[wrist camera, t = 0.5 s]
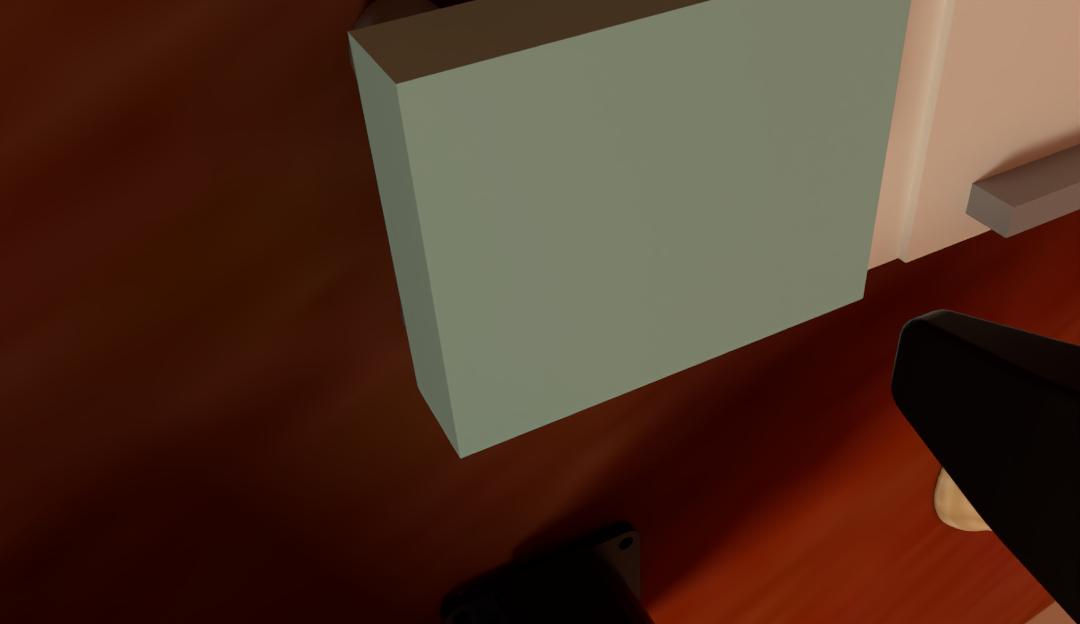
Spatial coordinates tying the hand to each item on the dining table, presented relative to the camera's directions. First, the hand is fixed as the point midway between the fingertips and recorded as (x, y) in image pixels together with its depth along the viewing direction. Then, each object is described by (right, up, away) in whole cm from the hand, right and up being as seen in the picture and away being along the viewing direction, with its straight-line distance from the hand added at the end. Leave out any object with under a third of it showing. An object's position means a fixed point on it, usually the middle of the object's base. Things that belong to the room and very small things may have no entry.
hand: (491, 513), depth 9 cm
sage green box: (+1, +6, +13) cm, 15 cm away
